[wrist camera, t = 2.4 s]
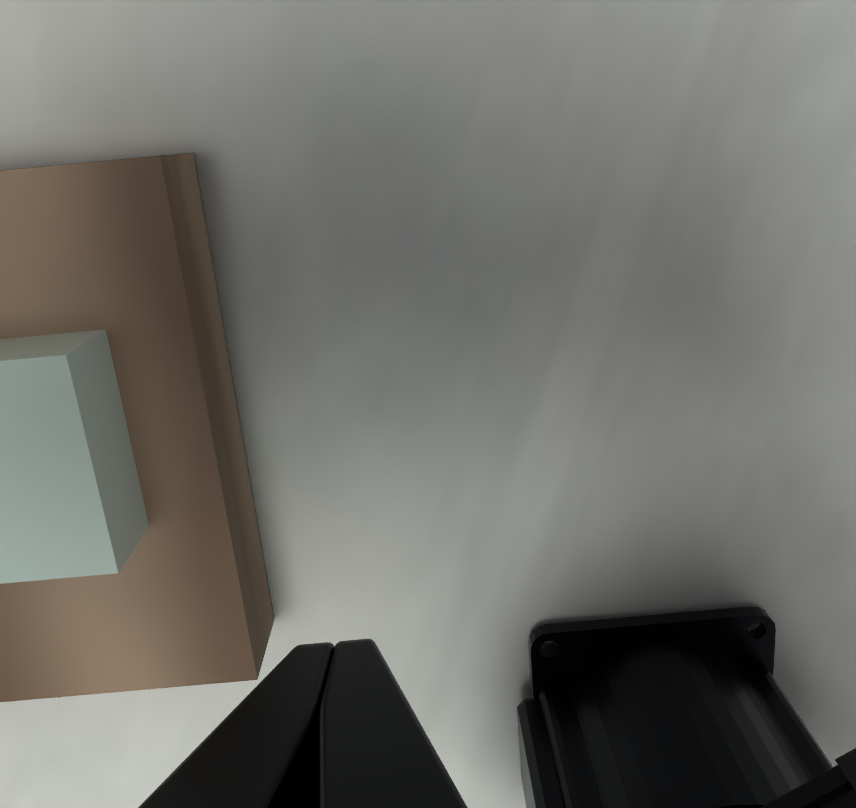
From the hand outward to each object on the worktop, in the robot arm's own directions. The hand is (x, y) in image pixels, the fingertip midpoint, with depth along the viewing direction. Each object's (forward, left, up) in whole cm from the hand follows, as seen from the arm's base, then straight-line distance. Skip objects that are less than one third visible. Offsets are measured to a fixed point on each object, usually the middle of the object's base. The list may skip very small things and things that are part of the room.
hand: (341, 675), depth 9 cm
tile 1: (+8, 0, -9) cm, 12 cm away
